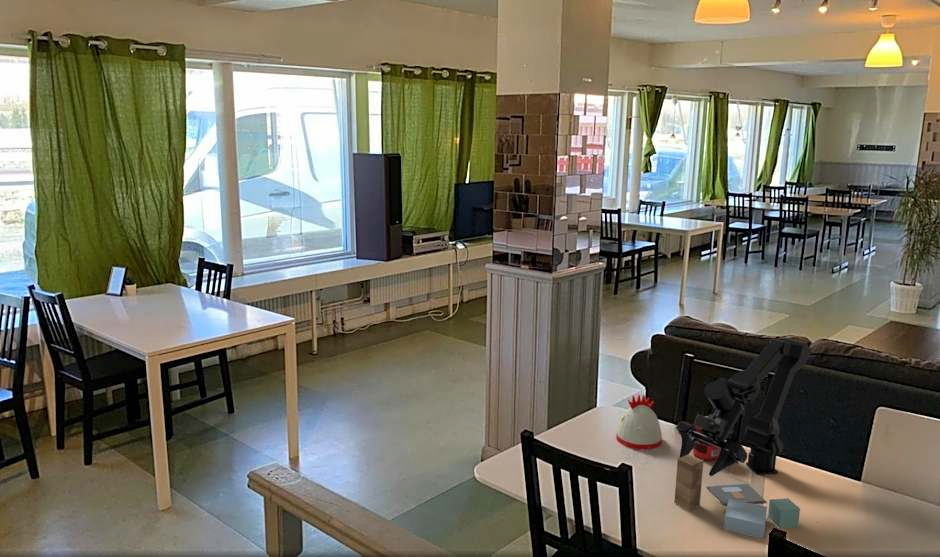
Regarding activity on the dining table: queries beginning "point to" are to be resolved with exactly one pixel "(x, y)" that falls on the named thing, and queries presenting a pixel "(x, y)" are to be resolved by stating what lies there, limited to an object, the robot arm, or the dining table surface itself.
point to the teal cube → (784, 513)
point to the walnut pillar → (688, 481)
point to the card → (735, 493)
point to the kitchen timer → (639, 426)
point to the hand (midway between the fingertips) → (694, 468)
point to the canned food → (705, 449)
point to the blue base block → (745, 518)
